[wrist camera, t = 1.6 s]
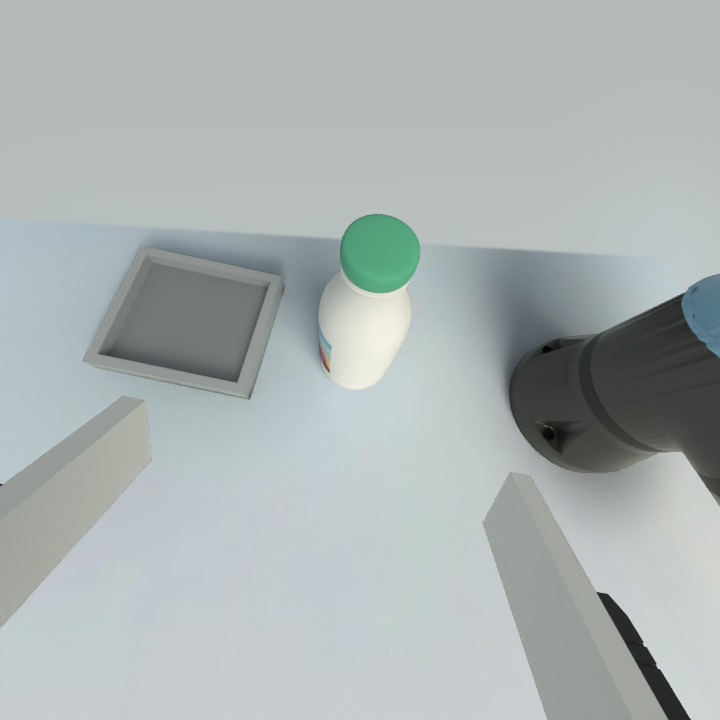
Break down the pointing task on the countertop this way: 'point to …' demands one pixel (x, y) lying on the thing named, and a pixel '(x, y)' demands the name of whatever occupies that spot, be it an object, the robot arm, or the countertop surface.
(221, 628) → the countertop surface
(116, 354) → the tray
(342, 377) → the milk bottle
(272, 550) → the countertop surface
